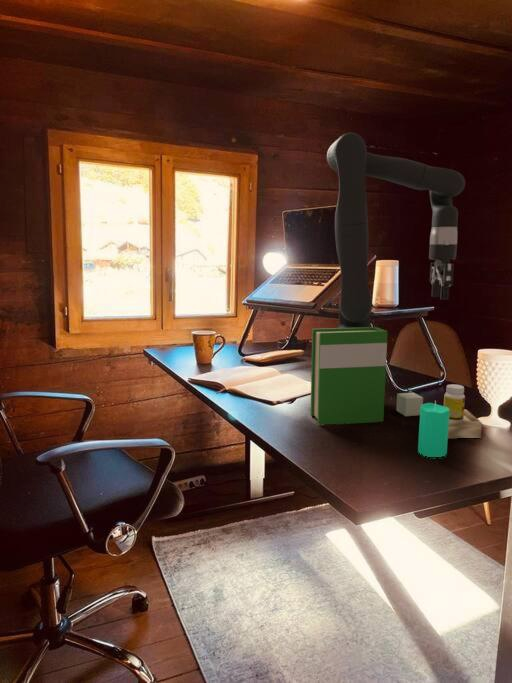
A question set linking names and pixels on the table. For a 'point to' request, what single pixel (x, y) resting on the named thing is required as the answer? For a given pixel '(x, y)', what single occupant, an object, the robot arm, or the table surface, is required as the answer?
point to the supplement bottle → (455, 402)
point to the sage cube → (409, 404)
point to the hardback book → (348, 375)
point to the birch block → (465, 427)
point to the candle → (433, 430)
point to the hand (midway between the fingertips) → (439, 298)
